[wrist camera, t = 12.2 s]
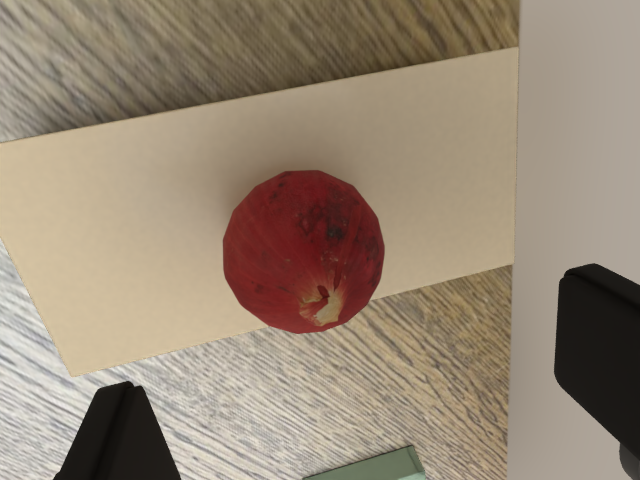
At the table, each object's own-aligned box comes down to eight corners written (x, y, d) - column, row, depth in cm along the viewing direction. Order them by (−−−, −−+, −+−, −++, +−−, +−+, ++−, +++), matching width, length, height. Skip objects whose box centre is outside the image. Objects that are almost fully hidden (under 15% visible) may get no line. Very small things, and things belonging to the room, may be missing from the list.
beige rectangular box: (448, 53, 24) (519, 46, 18) (455, 225, 28) (514, 263, 22) (30, 131, 21) (-45, 151, 15) (107, 309, 25) (71, 378, 19)
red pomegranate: (254, 131, 17) (274, 172, 10) (373, 184, 19) (465, 251, 12) (204, 255, 18) (189, 371, 11) (320, 292, 20) (372, 413, 13)
